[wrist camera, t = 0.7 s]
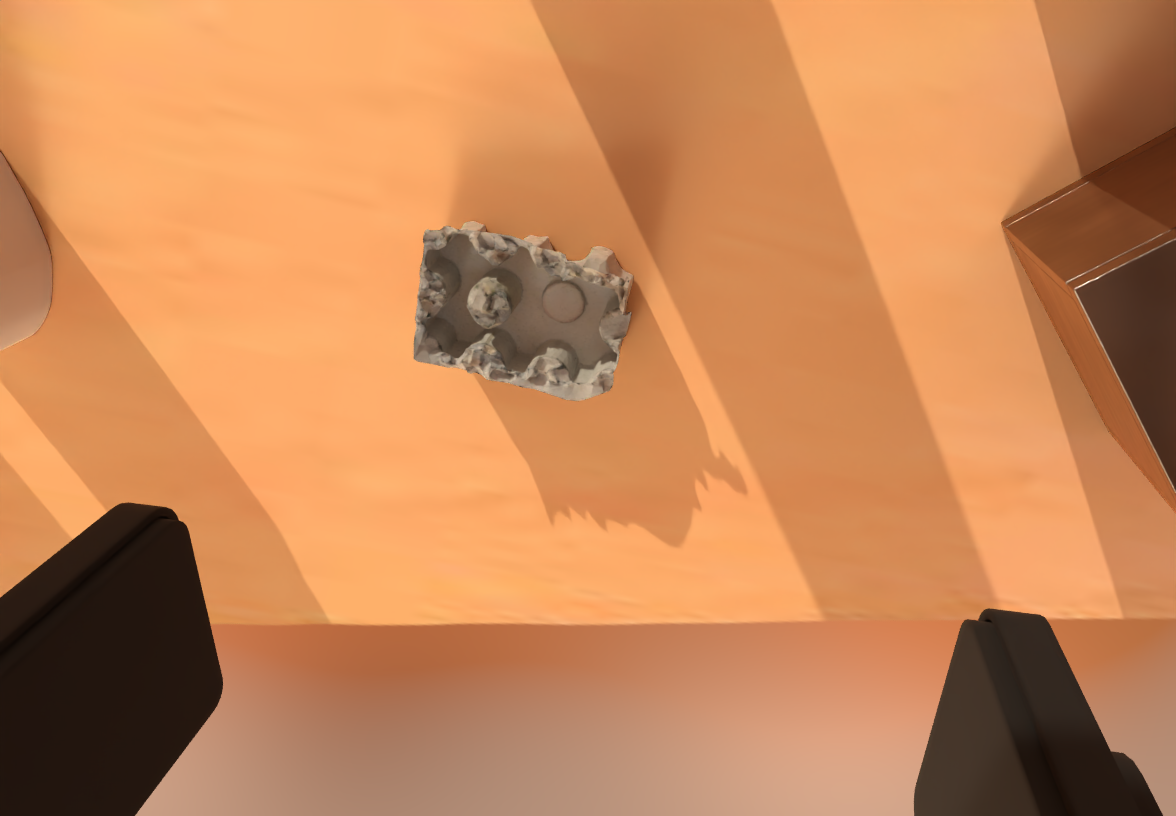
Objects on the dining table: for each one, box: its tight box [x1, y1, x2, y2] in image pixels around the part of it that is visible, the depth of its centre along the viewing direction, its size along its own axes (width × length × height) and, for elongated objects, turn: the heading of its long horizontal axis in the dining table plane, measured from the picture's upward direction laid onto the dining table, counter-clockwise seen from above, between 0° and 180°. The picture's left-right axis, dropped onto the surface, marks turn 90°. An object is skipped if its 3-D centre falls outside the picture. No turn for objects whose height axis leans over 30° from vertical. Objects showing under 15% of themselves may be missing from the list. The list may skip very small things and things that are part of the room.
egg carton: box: [414, 221, 633, 401], centre depth 42 cm, size 11×8×4 cm
